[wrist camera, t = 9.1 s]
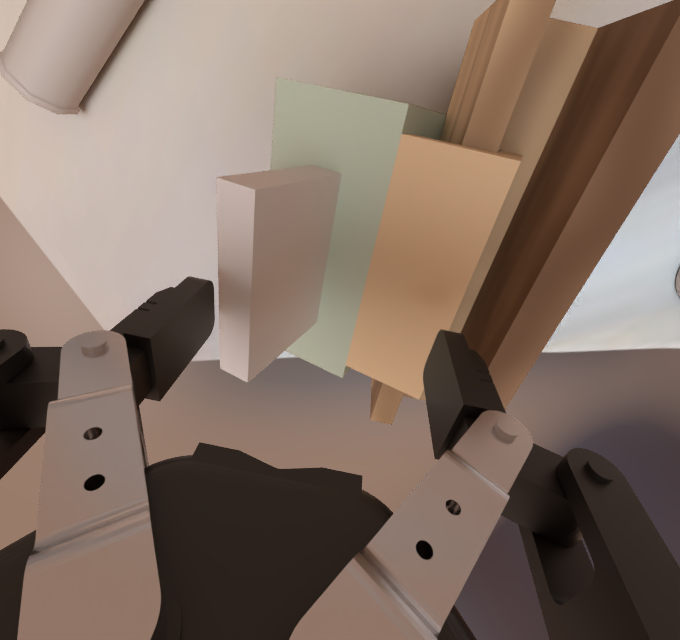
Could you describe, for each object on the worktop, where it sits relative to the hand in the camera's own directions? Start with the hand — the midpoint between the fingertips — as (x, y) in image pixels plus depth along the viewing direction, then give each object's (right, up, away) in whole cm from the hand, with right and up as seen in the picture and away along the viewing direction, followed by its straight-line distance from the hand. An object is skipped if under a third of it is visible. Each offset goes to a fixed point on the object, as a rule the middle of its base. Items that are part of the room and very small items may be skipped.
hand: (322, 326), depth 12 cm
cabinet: (+6, +7, +13) cm, 16 cm away
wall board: (+12, +11, +20) cm, 26 cm away
